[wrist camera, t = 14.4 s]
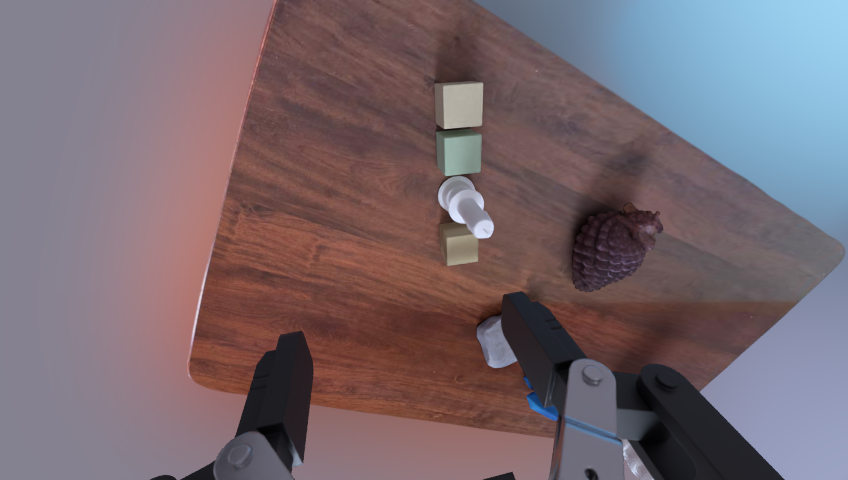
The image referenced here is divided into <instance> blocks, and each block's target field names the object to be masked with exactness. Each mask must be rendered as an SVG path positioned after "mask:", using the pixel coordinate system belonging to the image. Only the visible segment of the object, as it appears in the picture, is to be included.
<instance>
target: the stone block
mask: <svg viewBox="0 0 848 480" xmlns="http://www.w3.org/2000/svg"><path fill="white" fill-rule="evenodd" d="M477 338H478V339H479V342H480V343H481V346H482V350H483V354H484V356H485V359H486V361H487V364H488V365H489V366H492V367H493V368H499V367H504V366H507V365H509V364H512V363H514V362H515V361H517V359H516V357H515V355H514V353H513V351H512V350H511V348H510V346H509V344H508V342H507V341H506V339H505V337H504V335H503V332H502V328H501V315H499V316H492V317H490V318H488V319H487V320H486V321H484V322H483V323H481V324H480V325H479V326H478V327H477Z"/></svg>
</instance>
